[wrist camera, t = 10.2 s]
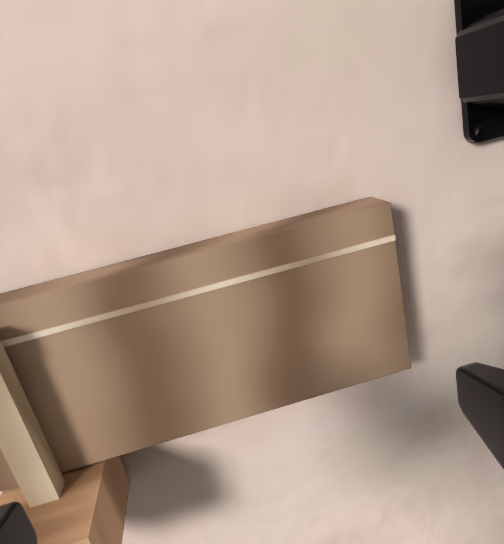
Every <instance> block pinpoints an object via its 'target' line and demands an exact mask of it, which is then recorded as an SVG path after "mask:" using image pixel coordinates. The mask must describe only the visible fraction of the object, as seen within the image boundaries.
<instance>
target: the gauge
mask: <svg viewBox="0 0 504 544" xmlns="http://www.w3.org/2000/svg"><path fill="white" fill-rule="evenodd" d="M0 449H1V451H2V453H3V455H4V457H5V459H6V461H7V463H8V465H9V467H10V469H11V471H12V473H13V475H14V477H15V479H16V481H17V483H18V485H19V486H17V487H13V488H10V489H7V490H3V492H2V494H1V496H0V506H1V505H4V504H7V503H11V502H14V501H16V502H19V503H20V504H21V505H22V506H23V508H24V510H25V512H26V514H27V516H28V517H29V519H30V521H31V523H32V525H33V527H34V529H35V532H36V535H37V544H122V537H123V530H124V522H125V514H126V507H127V499H128V491H129V484H130V480H129V478H128V475H127V473H126V470H125V468H124V465H123V463H122V460H121V458H120V456H117V457H113V458H110V459H107V460H103V461H100V462H97V463H93V464H90V465H87V466H83V467H80V468H77V469H73V470H70V471H67V472H63V473H61V471H60V469H59V467H58V465H57V462H56V460H55V458H54V456H53V454H52V452H51V449H50V447H49V445H48V443H47V441H46V438H45V436H44V434H43V432H42V430H41V427H40V425H39V423H38V421H37V419H36V417H35V414H34V412H33V410H32V408H31V406H30V403H29V401H28V399H27V397H26V395H25V393H24V390H23V388H22V386H21V384H20V382H19V379H18V377H17V375H16V373H15V371H14V369H13V366H12V364H11V362H10V360H9V358H8V355H7V353H6V351H5V349H4V347H3V345H2V342H1V340H0Z"/></svg>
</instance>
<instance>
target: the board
mask: <svg viewBox="0 0 504 544" xmlns="http://www.w3.org/2000/svg"><path fill="white" fill-rule="evenodd" d="M395 240H396V236H395V235H394V227H393V219H392V211H391V203H389V202H386V201H383V200H379V199H376V198H373V197H368V198H364V199H360V200H356V201H352V202H348V203H345V204H341V205H337V206H333V207H329V208H326V209H322V210H318V211H314V212H310V213H306V214H303V215H299V216H295V217H291V218H287V219H284V220H280V221H276V222H272V223H268V224H265V225H261V226H257V227H253V228H249V229H245V230H242V231H238V232H234V233H230V234H226V235H223V236H219V237H215V238H211V239H207V240H204V241H200V242H196V243H192V244H188V245H184V246H181V247H177V248H173V249H169V250H165V251H162V252H158V253H154V254H150V255H146V256H142V257H139V258H135V259H131V260H127V261H123V262H120V263H116V264H112V265H108V266H104V267H101V268H97V269H93V270H89V271H85V272H81V273H78V274H74V275H70V276H66V277H62V278H59V279H55V280H51V281H47V282H43V283H39V284H36V285H32V286H28V287H24V288H20V289H17V290H13V291H9V292H5V293H1V294H0V340H1V342H2V345H3V347H4V349H5V351H6V353H7V355H8V358H9V360H10V362H11V364H12V366H13V369H14V371H15V373H16V375H17V377H18V379H19V382H20V384H21V386H22V388H23V390H24V393H25V395H26V397H27V399H28V401H29V403H30V406H31V408H32V410H33V412H34V414H35V417H36V419H37V421H38V423H39V425H40V427H41V430H42V432H43V434H44V436H45V438H46V441H47V443H48V445H49V447H50V449H51V452H52V454H53V456H54V458H55V460H56V462H57V465H58V467H59V469H60V471H61V473H63V472H67V471H70V470H73V469H77V468H80V467H83V466H87V465H90V464H93V463H97V462H100V461H103V460H107V459H110V458H113V457H117V456H120V455H123V454H126V453H130V452H133V451H136V450H140V449H143V448H146V447H150V446H153V445H156V444H160V443H163V442H166V441H170V440H173V439H176V438H180V437H183V436H186V435H190V434H193V433H196V432H200V431H203V430H206V429H210V428H213V427H216V426H220V425H223V424H226V423H230V422H233V421H236V420H240V419H243V418H246V417H250V416H253V415H256V414H260V413H263V412H266V411H270V410H273V409H276V408H280V407H283V406H286V405H290V404H293V403H296V402H300V401H303V400H306V399H310V398H313V397H316V396H320V395H323V394H326V393H330V392H333V391H336V390H340V389H343V388H346V387H350V386H353V385H356V384H360V383H363V382H366V381H370V380H373V379H376V378H380V377H383V376H386V375H390V374H393V373H396V372H400V371H403V370H406V369H410V368H411V362H410V354H409V346H408V338H407V330H406V322H405V314H404V306H403V298H402V290H401V282H400V275H399V267H398V259H397V251H396V243H395ZM17 486H19V485H18V483H17V481H16V479H15V477H14V475H13V473H12V471H11V469H10V467H9V465H8V463H7V461H6V459H5V457H4V455H3V453H2V451H1V449H0V491H3V490H7V489H10V488H13V487H17Z"/></svg>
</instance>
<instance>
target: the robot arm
mask: <svg viewBox="0 0 504 544" xmlns="http://www.w3.org/2000/svg"><path fill="white" fill-rule="evenodd" d="M454 2H455V17H456V31H457V37H456V39H455V43H456V57H457V71H458V85H459V97H460V99H461V103H462V118H463V132H464V137H465V138H466V140H467V141H469V142H482V141H486V140H490V139H493V138H497V137H501V136H504V0H454ZM476 126H478V128H479V132H478V134H477V135H475V133H474V129H475V127H476ZM456 381H457V392H458V402H459V405H460V408H461V410H462V412H463V413H464V415H465V416H466V417H467V419H468V420H469V422H470V423H471V424H472V426H473V427H474V429H475V430H476V431H477V433H478V434H479V436H480V437H481V438H482V440H483V441H484V443H485V444H486V445H487V447H488V448H489V450H490V451H491V452H492V454H493V455H494V457H495V458H496V459H497V461H498V462H499V464H500V465H501V466H502V468H503V469H504V369H500V368H496V367H492V366H489V365H485V364H481V363H471V364H468V365H464V366H461V367H459V368H458V369H457V371H456ZM0 544H37V535H36V532H35V529H34V527H33V525H32V523H31V521H30V519H29V517H28V516H27V514H26V512H25V510H24V508H23V506H22V505H21V504H20V503H19V502H16V501H14V502H11V503H7V504H4V505H1V506H0Z"/></svg>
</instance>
